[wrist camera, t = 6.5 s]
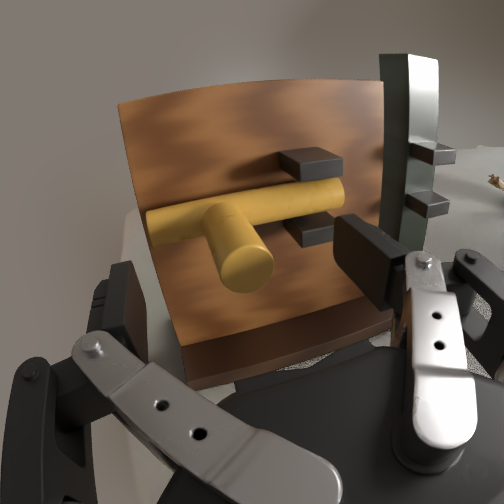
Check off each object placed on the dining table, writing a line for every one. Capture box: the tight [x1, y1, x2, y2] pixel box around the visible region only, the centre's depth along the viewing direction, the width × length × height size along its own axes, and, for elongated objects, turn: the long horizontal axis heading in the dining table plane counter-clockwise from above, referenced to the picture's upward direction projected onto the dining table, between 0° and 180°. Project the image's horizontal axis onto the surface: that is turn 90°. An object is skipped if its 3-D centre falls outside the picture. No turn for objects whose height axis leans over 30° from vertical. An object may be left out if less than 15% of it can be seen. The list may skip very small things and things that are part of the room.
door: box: [118, 54, 456, 391], centre depth 19 cm, size 20×8×19 cm, turn 106°
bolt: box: [146, 177, 345, 294], centre depth 14 cm, size 10×6×2 cm, turn 106°
